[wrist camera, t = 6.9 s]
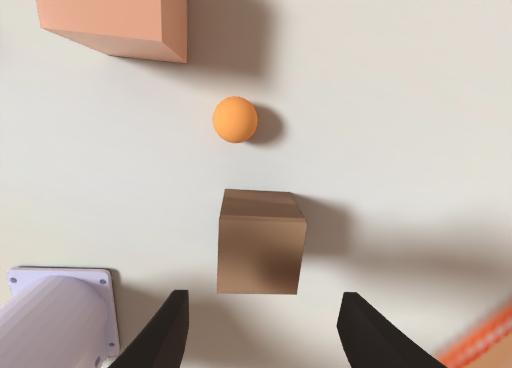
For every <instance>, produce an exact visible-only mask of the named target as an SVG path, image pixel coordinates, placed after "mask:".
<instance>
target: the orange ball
mask: <svg viewBox="0 0 512 368" xmlns="http://www.w3.org/2000/svg"><path fill="white" fill-rule="evenodd" d="M257 124H258V117H257V113H256V110H255V108H254V107H253V105H252V104H251V103H250V102H249V101H247V100H246V99H244V98H241V97H229V98H226V99H224V100H222V101H221V102H220V103H219V104H218V105H217V107H216V108H215V111H214V114H213V125H214V128H215V130H216V132H217V134H218V135H219V136H220V137H221V138H222V139H224V140H226V141H228V142H231V143H240V142H244V141H246V140H248V139H249V138H250V137H251V136H252V135H253V134H254V132H255V130H256V128H257Z"/></svg>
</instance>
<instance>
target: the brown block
mask: <svg viewBox="0 0 512 368" xmlns="http://www.w3.org/2000/svg"><path fill="white" fill-rule="evenodd" d="M306 229H307V221H306V220H305V218H304V216H303V215H302V213H301V211H300V209H299V208H298V206H297V204H296V203H295V201H294V199H293V197H292V196H291V194H290V192H275V191H255V190H235V189H225V192H224V197H223V202H222V207H221V212H220V217H219V238H218V271H217V293H230V294H295V295H297V289H298V282H299V275H300V269H301V262H302V255H303V249H304V242H305V235H306Z"/></svg>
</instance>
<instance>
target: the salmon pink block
mask: <svg viewBox="0 0 512 368" xmlns="http://www.w3.org/2000/svg"><path fill="white" fill-rule="evenodd" d="M36 2H37V9H38V15H39V22H40V28H42V29H45V30H47V31H50V32H52V33H55V34H57V35H59V36H62V37H64V38H67V39H69V40H72V41H74V42H77V43H79V44H82V45H84V46H86V47H89V48H91V49H94V50H96V51H99V52H101V53H104V54H106V55H113V56H122V57H132V58H141V59H150V60H160V61H169V62H178V63H187V27H188V0H36Z"/></svg>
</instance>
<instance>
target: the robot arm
mask: <svg viewBox="0 0 512 368" xmlns="http://www.w3.org/2000/svg"><path fill="white" fill-rule="evenodd" d="M6 276H7V279H8V283H9V287H10V290H11V294H12V298H11V299H10V300H9V301H7V302H6V303H5V304H4V305H2V306H1V307H0V368H101V366H102V364H103V362H104V360H105V359H106V357H107V356H116V355H118V353H119V351H120V345H119V337H118V329H117V321H116V313H115V305H114V297H113V289H112V281H111V274H110V272H109V271H108V270H105V269H70V268H26V267H13V268H11V269H9V270H8V271H7V272H6ZM103 279H104V280H105V281H104V280H103ZM188 328H189V298H188V290H174V291H173V292H172V293H171V294H170V296H169V297H168V298H167V300H166V301H165V303H164V304H163V305H162V307H161V308H160V309H159V310H158V312H157V313H156V314H155V316H154V317H153V318H152V319H151V320H150V322H149V323H148V324H147V325H146V327H145V328H144V329H143V330H142V331H141V333H140V334H139V335H138V336H137V337H136V338H135V339H134V340H133V341H132V343H131V344H130V345H129V346H128V347H127V348H126V349H125V350H124V351H123V353H122V354H121V355H120V356H119V357H118V358H117V359H116V360H115V361H114V362H113V363H112V364H111V365H110V366H109V367H108V368H180V364H181V361H182V357H183V354H184V350H185V344H186V339H187V334H188ZM337 329H338V333H339V336H340V339H341V343H342V346H343V349H344V351H345V354H346V356H347V358H348V361H349V363H350V365H351V368H447V367H446V366H444V365H443V364H442V363H440V362H439V361H437V360H436V359H435V358H433V357H432V356H431V355H429V354H428V353H427V352H426V351H424V350H423V349H422V348H421V347H419V346H418V345H417V344H416V343H414V342H413V341H412V340H411V339H409V338H408V337H407V336H406V335H405V334H403V333H402V332H401V331H400V330H399V329H397V328H396V327H395V326H394V325H393V324H392V323H391V322H389V321H388V320H387V319H386V318H385V317H384V316H383V315H382V314H380V313H379V312H378V311H377V310H376V309H375V308H374V307H373V306H371V305H370V304H369V303H368V302H367V301H366V300H365V299H364V298H362V297H361V296H360V295H359V294H358V293H357V292H344V294H343V298H342V303H341V308H340V312H339V317H338V322H337Z"/></svg>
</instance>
